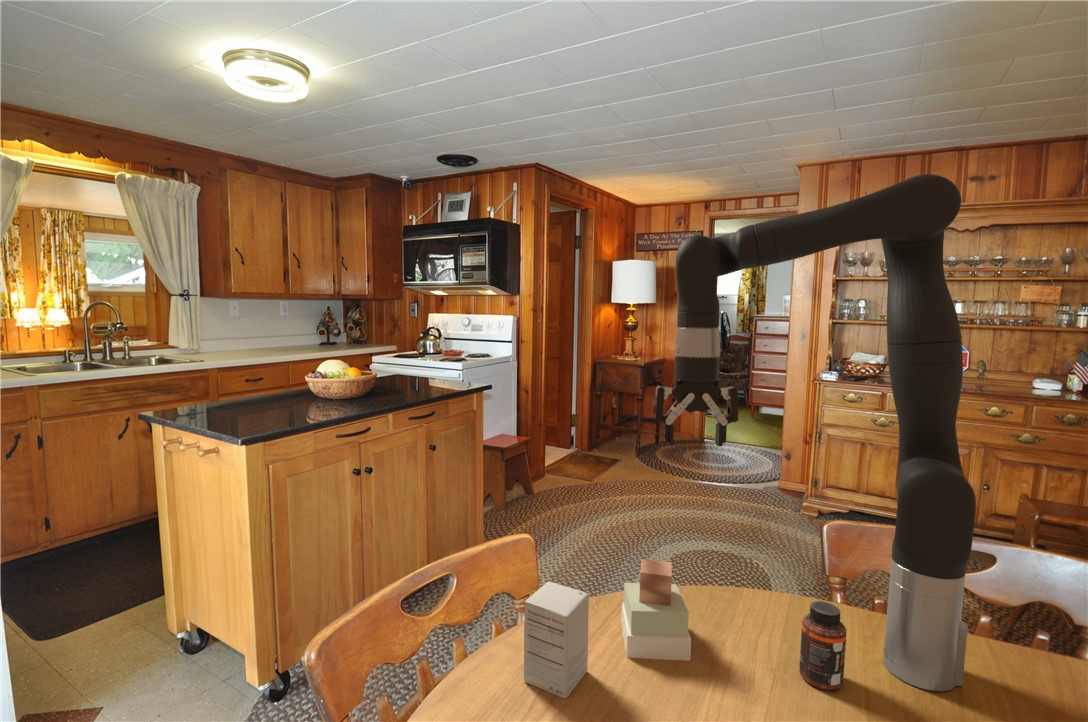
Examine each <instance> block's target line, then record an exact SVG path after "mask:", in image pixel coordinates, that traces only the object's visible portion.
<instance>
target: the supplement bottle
mask: <svg viewBox="0 0 1088 722" xmlns="http://www.w3.org/2000/svg"><path fill="white" fill-rule="evenodd" d="M800 637H801V638H800V650H799V651H800V652H799V654H800V655H799V674H800V676H801V677H802V679H804V681H806V683H808V684H809V685H811V686H813V687H816V688H818V689H822V690H826V691H836V690H839V689H840V688H841V687H842V686H843V682H844V675H845V661H846V650H847V649H846V647H847V645H846V644H847V629H846V626H845V625H844V623H843V622H842V621H841V610H840V608H838V607H837V606H836V605H834V604H832V603H830V602H826V601H821V600H819V601H818V600H817V601H816V600H815V601H812V602H811V603H810V609H809V613H807V614H805V615H804V617H803V618H802V623H801V635H800Z"/></svg>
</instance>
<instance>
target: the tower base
mask: <svg viewBox="0 0 1088 722" xmlns="http://www.w3.org/2000/svg"><path fill="white" fill-rule="evenodd" d="M620 622H621V630H622V634H623V635H622V636H623V643H624V649H625V654H626V655H625V656H626V658H627V659H628V658H630V659H631V658H632V659H648V660H650V659H651V660H666V661H667V660H669V661H670V660H671V661H687V662H688V661H689V662H690V661H691V653H692V650H691V649H692V638H691V635H690V631H688V636H659V635H631V633H630V629H629V625H628V620H627V616H626V612H625V608H624V601H622V602H621V621H620Z"/></svg>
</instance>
